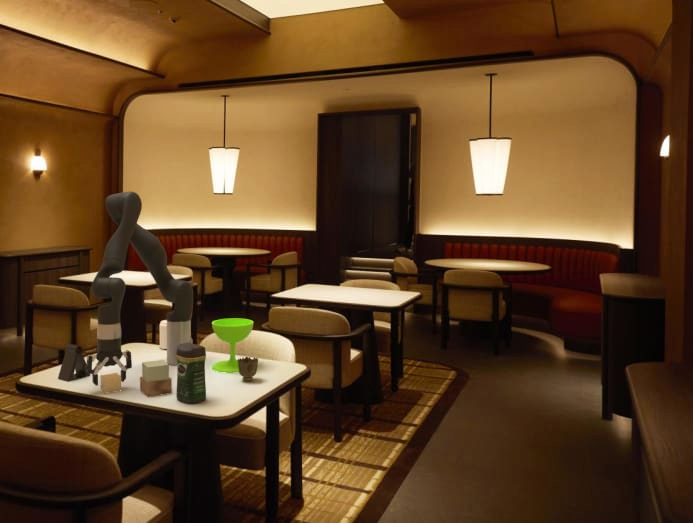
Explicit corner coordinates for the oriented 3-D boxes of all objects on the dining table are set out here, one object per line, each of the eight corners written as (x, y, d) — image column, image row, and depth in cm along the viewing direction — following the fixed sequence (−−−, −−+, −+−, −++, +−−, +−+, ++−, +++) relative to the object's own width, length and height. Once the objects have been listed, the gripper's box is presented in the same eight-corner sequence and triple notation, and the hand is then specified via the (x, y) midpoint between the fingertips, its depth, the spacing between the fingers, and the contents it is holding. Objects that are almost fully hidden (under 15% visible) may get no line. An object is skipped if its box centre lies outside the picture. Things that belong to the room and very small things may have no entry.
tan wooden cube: (116, 387, 205) (116, 372, 204) (121, 391, 200) (121, 376, 200) (100, 389, 202) (100, 375, 201) (104, 393, 197) (104, 379, 197)
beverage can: (161, 351, 255) (161, 323, 254) (158, 346, 262) (157, 320, 261) (180, 349, 259) (180, 322, 258) (176, 345, 266) (176, 319, 265)
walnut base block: (163, 387, 206) (163, 373, 205) (171, 393, 199) (171, 378, 199) (140, 391, 201) (140, 376, 201) (147, 397, 195) (147, 382, 194)
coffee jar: (210, 400, 193) (210, 344, 191) (189, 406, 187) (189, 348, 185) (193, 393, 199) (192, 339, 197) (172, 399, 193) (172, 343, 191)
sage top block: (163, 374, 204) (163, 359, 204) (168, 379, 199) (168, 364, 198) (142, 376, 201) (142, 362, 200) (147, 382, 195) (147, 367, 194)
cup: (261, 379, 217) (262, 357, 216) (252, 384, 210) (252, 362, 210) (243, 376, 220) (243, 355, 219) (233, 382, 213) (233, 360, 212)
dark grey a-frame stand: (67, 381, 209) (67, 348, 208) (57, 378, 212) (57, 346, 211) (90, 375, 217) (90, 343, 216) (80, 373, 220) (79, 341, 219)
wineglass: (206, 364, 235) (206, 320, 233) (244, 360, 243) (244, 317, 241) (219, 375, 221) (219, 327, 219) (259, 370, 229) (259, 324, 227)
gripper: (127, 332, 206) (127, 377, 208) (84, 336, 198) (84, 383, 200) (133, 336, 200) (134, 382, 202) (89, 340, 192) (89, 389, 193)
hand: (109, 383), depth 201 cm, fingers open, 8 cm apart
